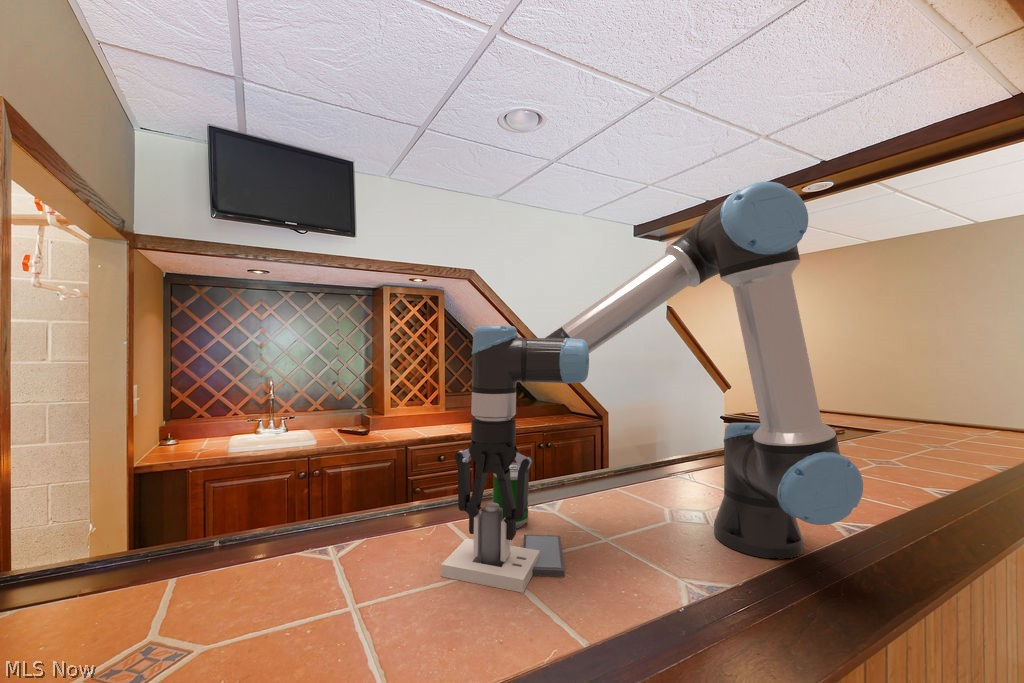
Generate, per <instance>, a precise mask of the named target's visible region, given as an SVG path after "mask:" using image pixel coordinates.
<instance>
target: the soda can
mask: <svg viewBox="0 0 1024 683" xmlns="http://www.w3.org/2000/svg"><path fill="white" fill-rule="evenodd" d="M509 467H510V479H511V484H512V489H513V495H514V500H515V506H516V501H517V478H518V470H519V468H517V462H512V464H511V465H510V466H509ZM492 474H493V476H492V477H493V478H492V479H493V480H492V481H493V482H492V483H493V486H492V487H493V488H492V489H493V490H492V492H493V493H492V497H493V498H492V500H493V501H492V503H498V504H499V507H501V508H502V509H503V519H504V518H505V513H504V507H503V502H502V496H501V491H500V485H499V481H498V480H497V476H496V474H494V473H492ZM529 479H530V478H528V491H529V483H530V482H529V481H530V480H529ZM528 520H529V500H528V501H527V513H526V514H525V515H524V517H523V518H522V519H516V529H519V528H521V527H522V528H523V526H524V525H525V524H526V523H527V522H528Z"/></svg>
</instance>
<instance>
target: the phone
mask: <svg viewBox="0 0 1024 683" xmlns="http://www.w3.org/2000/svg"><path fill="white" fill-rule="evenodd" d="M522 546H523V547H522V548H528V549H534V550H540V556H539V558H538V560H537V561H536V563H535V565H534V568H533V569H532V577H533V576H537V577H539V576H540V577H558V578H559V577H560V578H562V577H563V578H565V564H564V563H565V562H564V555H563V548H562V540H561V535H552V534H551V535H550V534H549V535H546V534H523V544H522Z"/></svg>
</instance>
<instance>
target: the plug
mask: <svg viewBox="0 0 1024 683" xmlns="http://www.w3.org/2000/svg"><path fill="white" fill-rule="evenodd" d="M480 512H481V564H486V565H492V566H497V567H502V566H503V563H502V561H501V521H502V520H503V509H502V508H501V507H499V504H498V503H493V502H487V503H485V505H484V507H482V508H481V509H480Z"/></svg>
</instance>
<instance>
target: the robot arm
mask: <svg viewBox="0 0 1024 683" xmlns="http://www.w3.org/2000/svg"><path fill="white" fill-rule="evenodd" d="M808 226H809V213H808V209H807V206H806V204H805V201H804V200H803V199H802V197H801V196H800V195H799V194H798V193H797V192H796V191H794V189H791V188H788V187H787V186H785V185H784V184H782V183H779V182H774V181H758V182H754V183H751V184H749V185H747V186H744V187H743V188H741V189H738V190H736V191H734V192H732V193H731V194H730V195H729V196H727V198H726V199H725V200H723V201H722V202H721V203H719V204H717V205H716V206H715V207H714V208H712V209H711V210H709V211H708V212H706V213H705V214H704V215H703V216H702V217H700V218H699V219H698V220H697V222H695V223H694V224H693V225H692V226H691V227H690V228H689V229H688V230H687V231H686V232H685V233H684V234H682V235H681V236H680V237H679V238H677V239H676V240H675V241H674V242H673V243H671V244H669V245H668V246H667V247H666V248H665V252H664V255H663V256H661V257H659V258H658V259H656V260H655V261H654V262H652V263H651V264H648V266H646V267H645V268H644V269H642V270H640V271H639V272H638V273H636V274H635V275H634V276H631V278H629V279H628V280H626V281H625V282H624V283H622V284H621V285H619V286H618V287H616V288H615V289H613V290H612V291H610V292H609V293H608V294H606V295H605V296H603V297H601V299H599V300H598V301H596V302H594V303H593V304H592V305H590V306H589V307H587V308H586V309H585V310H583V311H581V312H580V313H579V314H577V315H576V316H574V317H573V318H571V319H570V320H569V321H567V322H566V323H564V324H563V325H562V326H560V327H559V328H558V329H556V330H554V331H553V332H551V333H550V334H549V335H547V336H546V337H537V338H533V337H532V338H527V337H519V334H518V330H517V328H516V326H513V325H479V326H477V327H475V329H474V330H473V335H472V336H473V337H472V351H471V408H470V409H471V412H470V414H471V416H473V418H472V419H471V421H470V422H471V423H470V424H471V427H470V429H471V430H470V434H471V435H470V439H471V440H470V441H471V442H470V445H469V446H468V448H467V449H462V450H459V451H458V452H456V453H454V459H455V462H456V465H457V490H458V491H457V499H458V500H457V501H458V502H457V503H458V504H457V505H458V506H457V508H458V510H459V511H461V512H466V513H467V514H468V531H469V534H470V535H473V540H474V552H473V556H475V557H478V556H479V555H480V553H481V510H482V508H483V507H482V506H481V505H482V500H483V497H484V491H485V487H486V482H487V478H488V475H489V473H491V474H493V473H494V474H496V476H497V480H498V481H499V485H500V491H501V496H502V502H503V507H504V513H505V518H504V519H503V520H502V521H501V561H503V562H505V561H506V559H507V558H508V557H509V555H510V546H511V541H512V540H513V539H514V538H515V536H516V532H517V531H516V530H517V528H516V519H522V518H523V517H524V515H525V514H526V513H527V501H528V502H529V490H528V478H529V475H530V474H529V472H530V468H531V466H532V465H533V464H532V463H533V460H534V458H533V457H532V456H531V455H527V456H525V455H523V454H521V453H520V452H519V450H518V449H519V448H518V447H517V444H516V436H517V435H516V434H517V432H516V430H517V429H516V428H517V427H516V426H517V422H516V421H517V420H516V419H515V415H516V414H517V383H550V384H551V383H555V384H565V385H569V384H577V383H579V384H581V383H584V382H585V381H586V380H587V379H588V376H589V372H590V371H589V370H590V353H592V352H594V351H595V350H596V349H598V348H599V347H601V346H602V345H605V343H606V342H608V341H610V340H612V339H613V338H614V337H615V336H617V335H619V334H621V332H623V331H625V329H627V328H629V327H631V326H632V325H633V324H635V323H636V322H637V321H639V320H640V319H642V318H643V317H645V316H647V314H649V313H651V312H652V311H654V310H655V309H657V308H659V307H660V306H661V305H662V304H664V303H665V302H666V301H668V300H670V299H671V298H673V297H674V296H676V295H677V294H679V293H680V292H681V291H683V290H685V289H686V288H688V287H692V288H697V287H698V286H700V285H701V284H702V283H704V282H706V281H707V280H709V279H711V278H713V277H715V276H717V275H719V277H720V281H722V282H724V283H726V284H727V285H728V286H730V287H731V288H732V292H733V297H734V300H735V301H734V302H735V306H736V311H737V316H738V320H739V321H738V322H739V325H740V330H741V336H742V339H743V346H744V349H745V355H746V359H747V365H748V370H749V374H750V379H751V380H750V381H751V385H752V389H753V393H754V398H755V399H754V400H755V404H756V409H757V413H758V417H759V422H730V423H728V424H727V425H726V427H725V430H724V437H723V446H724V447H723V452H724V453H723V454H724V456H723V464H724V465H723V470H724V471H723V486H724V487H723V498H722V500H721V504H720V506H719V508H718V511H717V514H716V516H715V518H714V522H713V534H714V537H715V538H716V539H717V540H718V541H719V542H720V543H722V545H725V546H727V547H728V548H731V549H732V550H734V551H738V552H740V553H742V554H746V555H750V556H752V557H753V556H754V557H758V558H764V559H769V558H778V559H777V560H782V559H781V558H791V557H795V558H797V557H796V556H798V555H800V554H801V553H802V551H803V552H804V538H803V536H802V532H801V530H800V526H799V524H798V520H800V521H802V522H805V523H806V524H811V525H816V526H826V525H828V526H829V525H832V524H836V523H838V522H841V521H843V520H844V519H846V518H847V517H848V516H850V515H851V514H852V512H853V509H854V508H855V509H856V508H857V507H858V505H860V502H861V499H862V497H863V492H864V480H863V477H862V473H861V472H860V469H859V468H858V467H857V466H856V464H855V463H854V462H852V461H851V460H850V459H849V458H848V457H846V456H845V455H843V454H842V455H841V452H840V447H839V442H838V437H837V433H836V430H835V429H834V428H832V427H831V426H830V425H828V424H826V423H825V422H823V420H822V417H821V413H820V412H821V411H820V407H819V402H818V398H817V392H816V387H815V384H814V377H813V374H812V373H813V372H812V368H811V364H810V357H809V354H808V349H807V343H806V339H805V335H804V330H803V325H802V319H801V315H800V310H799V305H798V301H797V296H796V291H795V290H796V289H795V286H794V280H793V272H794V271H795V270H796V269H797V267H798V266H799V264H800V263H801V257H800V252H799V247H798V244H799V243H800V242H801V241H802V239H803V236H804V234H806V232H807V230H808ZM471 460H473V461H474V463H475V465H476V468H475V473H474V477H475V478H474V481H473V487H472V492H471V463H470V461H471ZM514 461H516V462H515V463H517V468H519V470H518V478H517V501H516V506H515V500H514V495H513V489H512V484H511V479H510V467H509V466H510V465H511V464H512V463H514ZM529 479H530V478H529ZM797 519H798V520H797ZM802 554H803V553H802ZM802 554H801V555H802ZM801 555H800V556H801ZM798 557H799V556H798ZM791 559H792V558H791Z"/></svg>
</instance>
